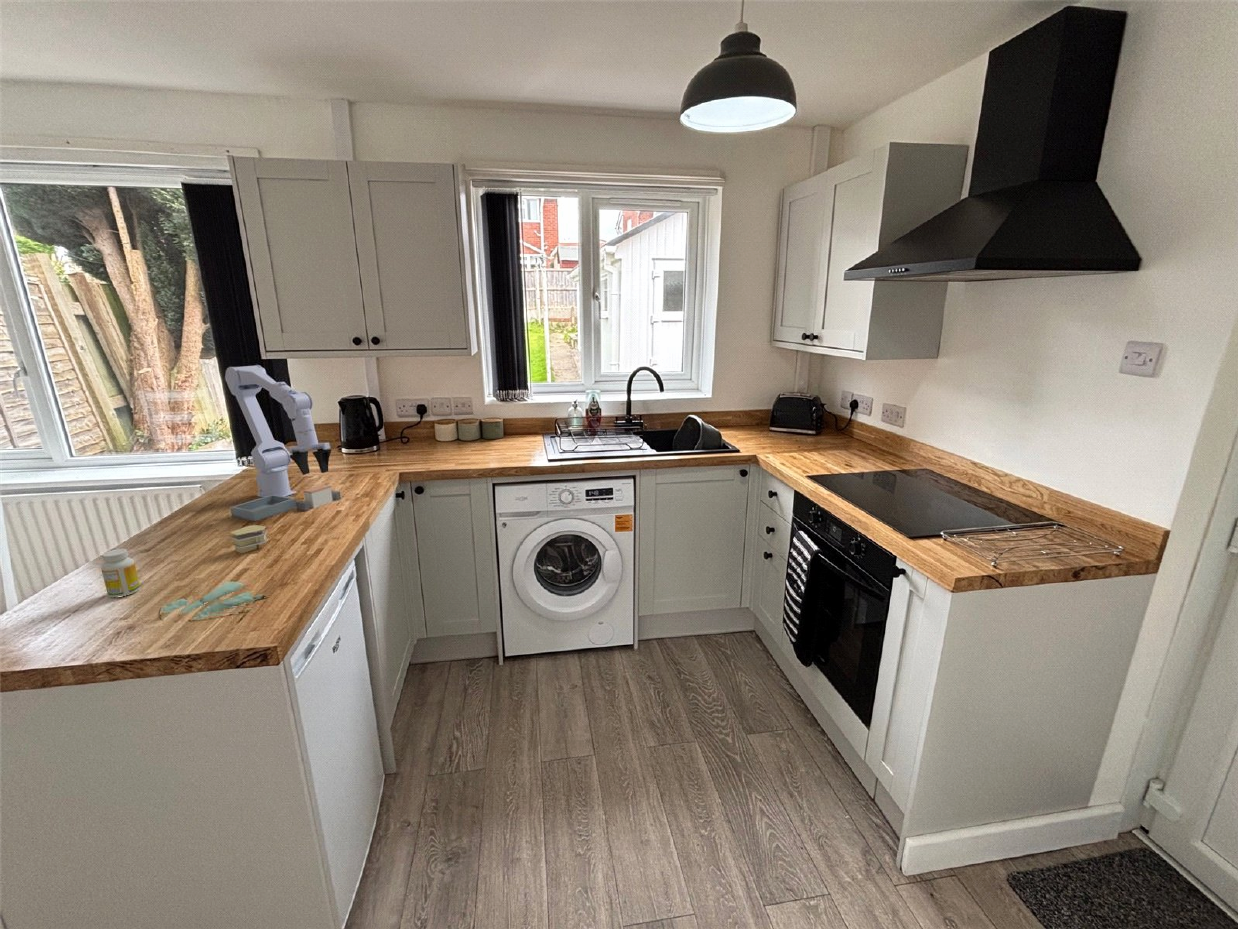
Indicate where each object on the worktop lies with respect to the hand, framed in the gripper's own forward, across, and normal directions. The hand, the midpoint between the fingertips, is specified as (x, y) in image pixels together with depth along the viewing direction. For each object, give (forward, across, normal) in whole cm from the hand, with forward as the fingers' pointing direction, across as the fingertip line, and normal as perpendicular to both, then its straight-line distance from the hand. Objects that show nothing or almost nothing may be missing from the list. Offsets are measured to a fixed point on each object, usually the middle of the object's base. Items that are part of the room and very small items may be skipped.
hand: (315, 473), depth 174 cm
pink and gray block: (+10, -2, 0) cm, 11 cm away
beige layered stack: (+13, +8, -34) cm, 37 cm away
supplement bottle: (+13, +3, -60) cm, 61 cm away
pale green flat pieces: (+17, +27, -57) cm, 65 cm away
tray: (+9, -12, -10) cm, 18 cm away
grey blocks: (+10, -2, 0) cm, 10 cm away
